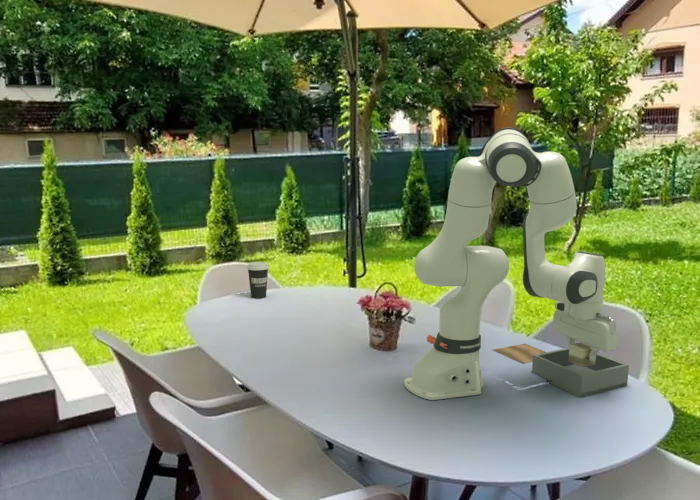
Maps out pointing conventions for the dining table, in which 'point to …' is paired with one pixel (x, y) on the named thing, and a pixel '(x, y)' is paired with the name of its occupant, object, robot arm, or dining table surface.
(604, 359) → the bin
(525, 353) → the walnut board
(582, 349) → the cream block
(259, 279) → the coffee cup
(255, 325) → the dining table surface
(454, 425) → the dining table surface
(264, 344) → the dining table surface
